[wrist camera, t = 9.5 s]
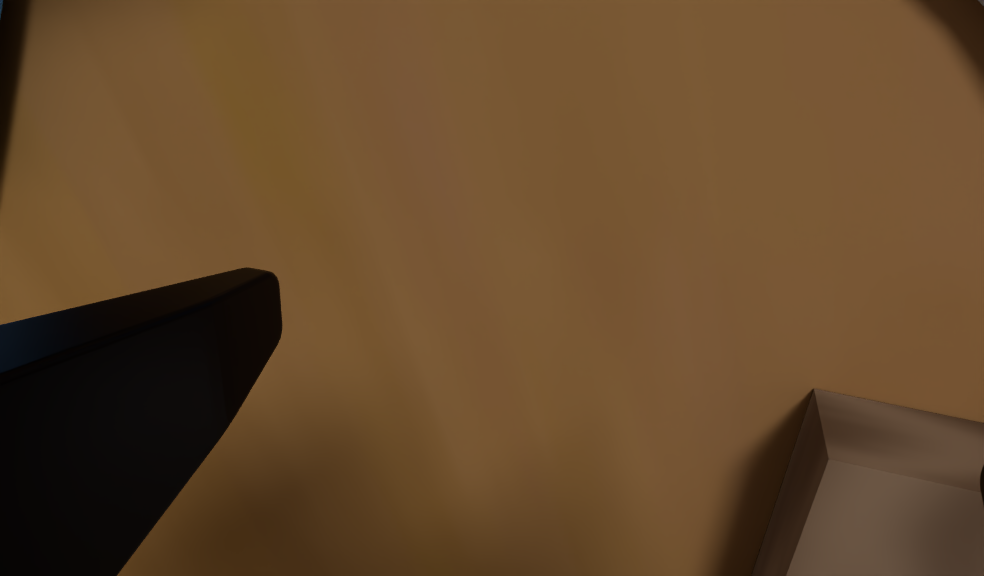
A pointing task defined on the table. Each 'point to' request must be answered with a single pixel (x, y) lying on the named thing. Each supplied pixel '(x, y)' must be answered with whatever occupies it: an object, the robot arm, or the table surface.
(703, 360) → the table surface
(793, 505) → the walnut block
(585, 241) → the table surface
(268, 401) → the table surface
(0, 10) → the file sorter
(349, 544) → the table surface
